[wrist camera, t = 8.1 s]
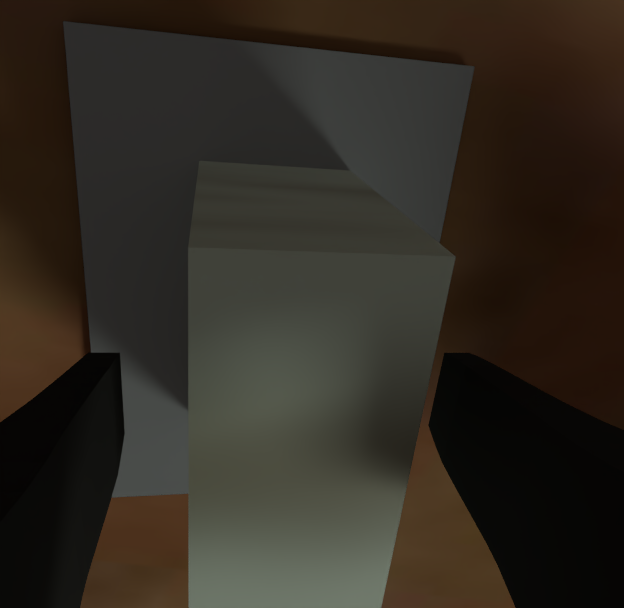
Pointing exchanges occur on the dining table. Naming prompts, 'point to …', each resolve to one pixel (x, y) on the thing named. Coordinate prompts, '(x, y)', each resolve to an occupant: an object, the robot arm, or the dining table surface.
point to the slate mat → (232, 149)
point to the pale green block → (303, 383)
